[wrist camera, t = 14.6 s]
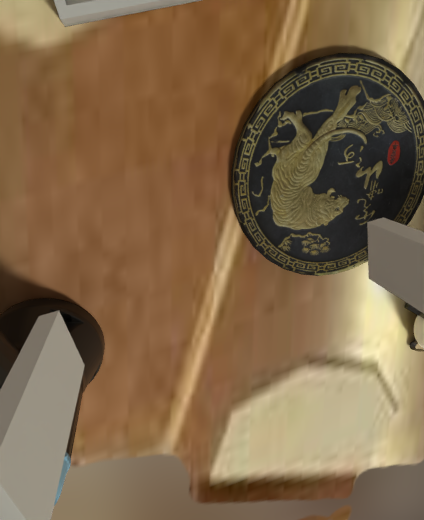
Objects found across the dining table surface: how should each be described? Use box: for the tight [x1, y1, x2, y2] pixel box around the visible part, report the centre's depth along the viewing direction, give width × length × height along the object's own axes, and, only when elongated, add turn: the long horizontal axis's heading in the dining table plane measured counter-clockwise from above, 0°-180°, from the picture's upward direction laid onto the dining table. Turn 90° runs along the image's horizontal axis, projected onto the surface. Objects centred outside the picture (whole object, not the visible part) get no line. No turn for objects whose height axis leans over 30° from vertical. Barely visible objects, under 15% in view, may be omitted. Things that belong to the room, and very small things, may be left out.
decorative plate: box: [231, 53, 424, 276], centre depth 47 cm, size 30×2×30 cm
